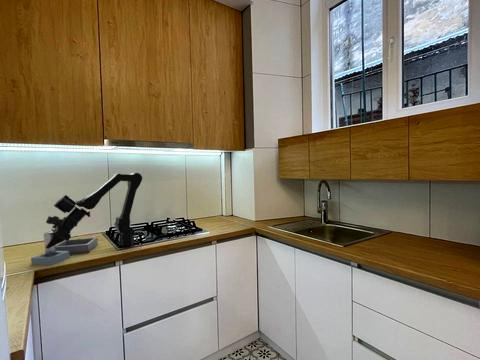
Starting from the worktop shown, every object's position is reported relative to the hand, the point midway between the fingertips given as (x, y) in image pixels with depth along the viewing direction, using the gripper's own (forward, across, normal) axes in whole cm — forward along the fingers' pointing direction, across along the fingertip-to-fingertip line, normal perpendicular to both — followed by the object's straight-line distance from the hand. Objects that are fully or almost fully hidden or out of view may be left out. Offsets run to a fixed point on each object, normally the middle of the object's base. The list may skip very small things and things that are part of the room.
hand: (46, 247), depth 120 cm
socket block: (+4, 0, +6) cm, 7 cm away
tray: (-4, -11, +14) cm, 18 cm away
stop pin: (+4, 0, +6) cm, 7 cm away
